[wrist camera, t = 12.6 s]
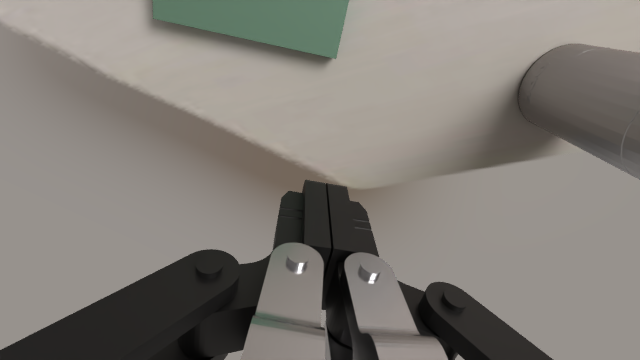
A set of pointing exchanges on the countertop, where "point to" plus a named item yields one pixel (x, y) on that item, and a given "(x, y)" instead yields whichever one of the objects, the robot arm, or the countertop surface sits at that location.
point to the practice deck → (264, 21)
